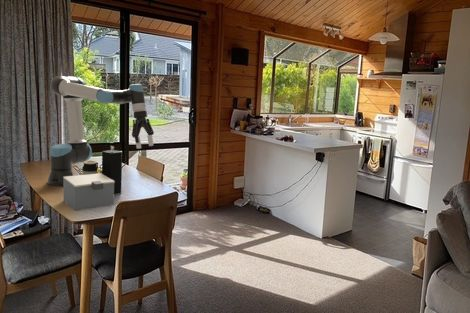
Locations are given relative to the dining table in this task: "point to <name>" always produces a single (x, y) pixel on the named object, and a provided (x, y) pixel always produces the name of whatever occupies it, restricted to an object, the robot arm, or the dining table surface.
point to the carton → (88, 196)
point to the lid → (89, 180)
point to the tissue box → (113, 167)
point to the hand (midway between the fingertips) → (145, 147)
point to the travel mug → (89, 167)
